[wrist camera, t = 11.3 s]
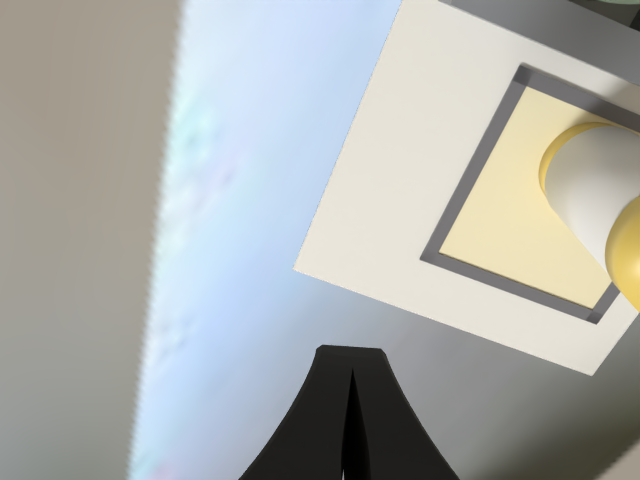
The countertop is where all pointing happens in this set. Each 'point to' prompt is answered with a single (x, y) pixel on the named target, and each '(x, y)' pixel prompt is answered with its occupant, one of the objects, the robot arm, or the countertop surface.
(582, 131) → the two-tone rounded cylinder
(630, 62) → the button housing
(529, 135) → the board
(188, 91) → the countertop surface
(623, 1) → the button
